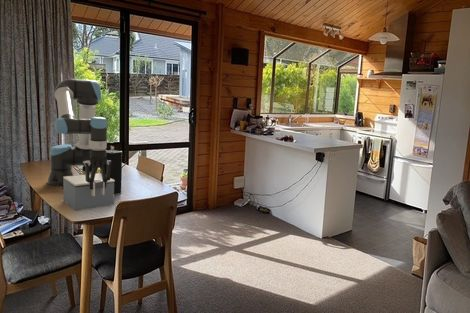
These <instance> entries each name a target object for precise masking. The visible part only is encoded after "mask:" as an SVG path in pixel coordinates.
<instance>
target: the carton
mask: <svg viewBox="0 0 470 313" xmlns="http://www.w3.org/2000/svg"><path fill="white" fill-rule="evenodd" d="M62 190H63V194H62V195H63V202H65V204H67V205H68V206H69V207H70V208H71V209H72V210H73V211H82V210H89V209H95V208H100V207H101V208H103V207H108V206H114V205H115V202H114V201H115V195H114V183H113V182H108V183H106V188H105V191H104V195H102V194H101V188H97V189H95V196H92V195H91V193H92V190H91V189H90V185H80V186H74V185H73V184H71V183H70V182H68V181H67V180H65V179H63V189H62Z"/></svg>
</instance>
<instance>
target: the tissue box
mask: <svg viewBox="0 0 470 313" xmlns="http://www.w3.org/2000/svg"><path fill="white" fill-rule="evenodd" d="M106 158H107V160H110V161H112V165H111V175H110V178H111V179H113V180H115V182H113V183H114V196H116V195H120V194H122V181H123V180H122V177H123V176H122V174H123V171H122V170H123V151H119V150H115V146H114V145H110V149H109V150H107V154H106ZM104 168H105V174H106V170H107V162H106V163H105V165H104Z"/></svg>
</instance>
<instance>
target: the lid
mask: <svg viewBox="0 0 470 313" xmlns="http://www.w3.org/2000/svg"><path fill="white" fill-rule="evenodd" d="M90 176H91V174H90ZM63 178H64V179H65V180H67V181H68V182H70V183H71V184H73V185H74V186H80V185H90V183H88V182H87V181H86V176H85V175H82V174H78V175H74V176H66V177H63ZM108 182H115V180H113V179H111V178H110V180H108V181H107V182H106V183H108ZM94 183H95V189H97V188H103V180H102V175H101V172H99V173H98V172H97V174H95V178H94Z"/></svg>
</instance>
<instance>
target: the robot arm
mask: <svg viewBox="0 0 470 313" xmlns="http://www.w3.org/2000/svg"><path fill="white" fill-rule="evenodd" d="M53 94H54V98H55V100H56V102H57V110H58V111H57V112H58V117H57V118H56V119H55V132H56V133H57V134H62V135H63V134H64V135H75V134H76V135H77V134H78V141H77V142H76V143H75V146H72V144H70V143H69V144H67V143H66V144H65V143H64V144H58V145H54V146H52V147H50V153H49V157H50V172H49V175H48V178H47V184H48V185H51V186H55V187H58V186H60V187H62V186H63V179H64V178H63V177H66V176H75V175H74V173H73V171H72V170H73V167H77V166H78V167H79V166H80V167H81V166H82V167H83V166H84V165H85V176H86V181H87V182H88V183H90V189H91V190H92V193H91V195H92V196H95V183H94V178H95V173H96V170H97V171H98V168H99V169H100V173H101V175H102V180H103V188H101V194H102V195H104V191H105V188H106V182H107V181H108V180H110V175H111V165H112V161H110V160H107V158H106V154H107V151H108V150H107V148H108V147H107V146H108V145H107V144H108V142H107V140H108V139H107V138H108V137H107V136H108V135H107V134H108V119H107V118H106V117H104V116H103V117H102V116H95V115H96V106H97V105H99V102H101V101H102V92H101V85H100V82H99V81H97V80H93V79H92V80H91V79H79V78H78V79H77V78H67V79H64V80H61V81H60V82H59V83H58V84H57V85H56V86H55V88H54V92H53ZM73 100H76V103H77V104H78V105H79V113H78V114H79V117H78V118H76V113H75V107H74V102H73ZM84 161H88V162H84ZM83 162H84V163H83ZM106 162H107V170H106V174H105V168H104V165H105V163H106ZM90 163H91V165H92V171H91V176H90V168H89V166H90Z"/></svg>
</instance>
